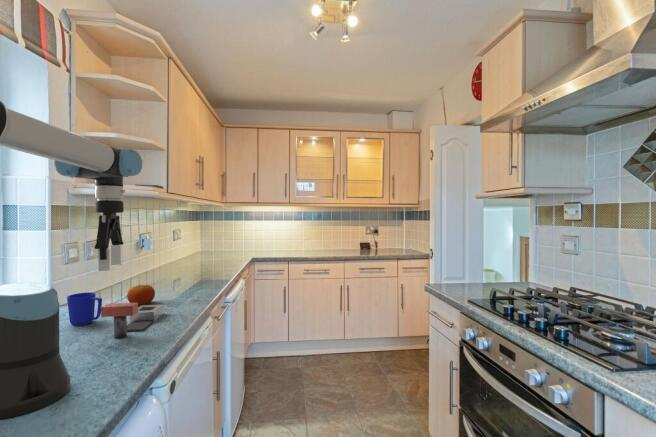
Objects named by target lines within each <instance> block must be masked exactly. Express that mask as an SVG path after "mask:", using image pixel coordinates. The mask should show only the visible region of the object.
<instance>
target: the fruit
mask: <svg viewBox="0 0 656 437" xmlns="http://www.w3.org/2000/svg"><path fill="white" fill-rule="evenodd" d="M126 294H127V295H126V299H127V301H128V303H138V306H142V305H148V304H150V303H151V302H152V301H153V300H154V298H155V296H156V291H155V289H154V287H153V286H152V285H149V284H138V285H135V286H132V287H130V288H129V289H128V291H127V293H126Z"/></svg>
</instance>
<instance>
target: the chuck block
mask: <svg viewBox="0 0 656 437" xmlns="http://www.w3.org/2000/svg"><path fill="white" fill-rule="evenodd" d="M164 310H165V309H164V304H145V305H139V306H138V312H137V313H136V314H134V315H133V316H129V324H130V323H131V322H135V321H153V323H154V322H155V321H157V320H158V319H159V318H160V317H162V316H163V315H164Z"/></svg>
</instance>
